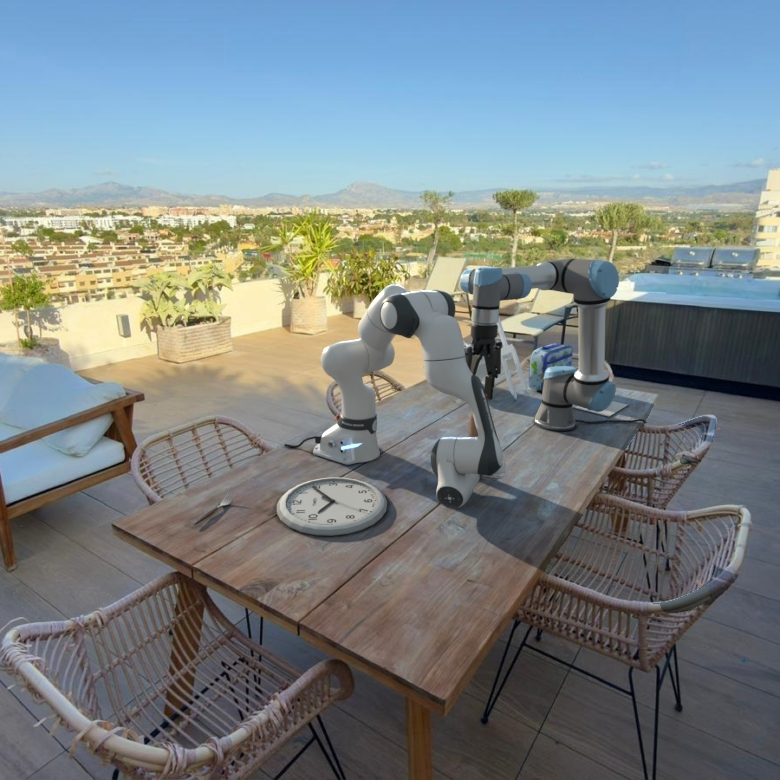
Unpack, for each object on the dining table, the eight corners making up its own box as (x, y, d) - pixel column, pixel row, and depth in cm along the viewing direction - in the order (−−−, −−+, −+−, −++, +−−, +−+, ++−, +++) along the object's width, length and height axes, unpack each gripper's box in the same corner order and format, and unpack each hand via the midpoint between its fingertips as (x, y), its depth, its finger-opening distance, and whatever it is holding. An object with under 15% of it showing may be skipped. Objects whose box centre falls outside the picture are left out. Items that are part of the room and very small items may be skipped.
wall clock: (392, 527, 129) (268, 531, 127) (391, 533, 130) (269, 537, 127) (383, 473, 158) (282, 475, 155) (383, 478, 158) (282, 480, 156)
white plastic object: (461, 429, 252) (437, 405, 227) (444, 352, 274) (420, 323, 250) (535, 404, 240) (518, 377, 215) (510, 326, 262) (492, 293, 237)
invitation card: (608, 416, 214) (573, 407, 224) (608, 416, 214) (573, 408, 224) (628, 404, 229) (594, 396, 238) (628, 405, 229) (594, 397, 238)
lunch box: (544, 395, 239) (549, 351, 233) (524, 390, 247) (528, 347, 240) (571, 384, 257) (577, 343, 251) (552, 380, 264) (556, 339, 258)
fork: (190, 525, 132) (189, 518, 131) (229, 496, 146) (228, 490, 145) (198, 527, 131) (198, 520, 130) (237, 498, 145) (236, 491, 145)
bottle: (471, 470, 165) (477, 393, 157) (484, 475, 162) (490, 396, 154) (463, 475, 161) (468, 396, 154) (476, 480, 158) (481, 400, 151)
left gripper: (502, 469, 144) (510, 450, 156) (431, 456, 151) (444, 439, 163) (500, 489, 145) (508, 469, 158) (430, 476, 153) (443, 458, 165)
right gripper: (498, 318, 156) (493, 391, 163) (449, 324, 145) (445, 402, 152) (518, 322, 150) (511, 398, 157) (468, 328, 139) (463, 410, 146)
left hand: (475, 454), depth 160 cm, fingers closed on bottle, 5 cm apart
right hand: (479, 400), depth 154 cm, fingers open, 7 cm apart
